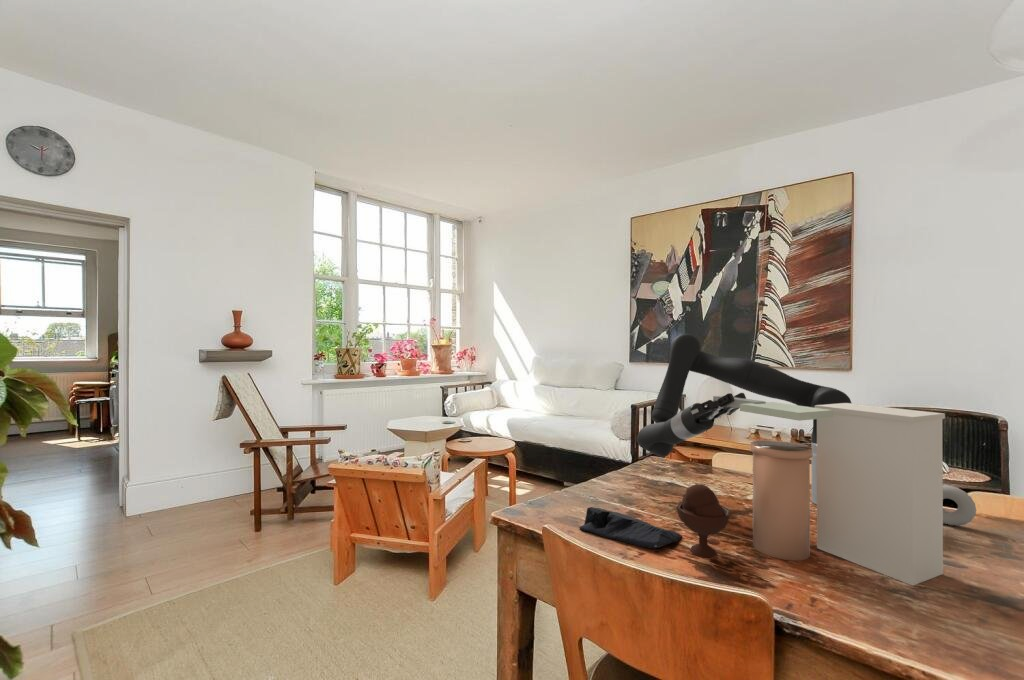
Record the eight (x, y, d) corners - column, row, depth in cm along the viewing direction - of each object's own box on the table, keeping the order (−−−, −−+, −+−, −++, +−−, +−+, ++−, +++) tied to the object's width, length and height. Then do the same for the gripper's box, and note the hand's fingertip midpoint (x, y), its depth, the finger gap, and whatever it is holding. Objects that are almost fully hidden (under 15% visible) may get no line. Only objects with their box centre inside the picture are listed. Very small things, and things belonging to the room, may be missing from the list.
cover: (733, 402, 123) (733, 395, 123) (832, 417, 100) (832, 408, 100) (702, 404, 118) (702, 396, 118) (798, 420, 96) (799, 410, 96)
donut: (977, 529, 117) (977, 488, 117) (975, 532, 115) (975, 491, 115) (924, 517, 125) (924, 479, 125) (922, 520, 123) (921, 482, 123)
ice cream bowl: (737, 565, 97) (737, 492, 97) (680, 560, 99) (680, 489, 99) (724, 544, 107) (724, 478, 108) (673, 540, 110) (673, 475, 110)
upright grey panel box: (846, 539, 111) (846, 402, 111) (945, 574, 94) (945, 413, 94) (814, 547, 106) (814, 405, 106) (913, 586, 89) (913, 417, 89)
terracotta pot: (773, 534, 113) (773, 438, 113) (825, 555, 102) (824, 448, 102) (738, 543, 108) (738, 442, 108) (788, 565, 97) (788, 453, 97)
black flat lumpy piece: (654, 559, 101) (654, 537, 101) (573, 530, 116) (573, 510, 117) (687, 539, 111) (687, 519, 111) (609, 514, 127) (609, 497, 127)
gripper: (666, 410, 128) (711, 383, 114) (705, 407, 133) (752, 381, 120) (676, 436, 124) (723, 412, 111) (715, 433, 130) (765, 409, 116)
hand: (738, 396), depth 115 cm, fingers closed on cover, 3 cm apart
